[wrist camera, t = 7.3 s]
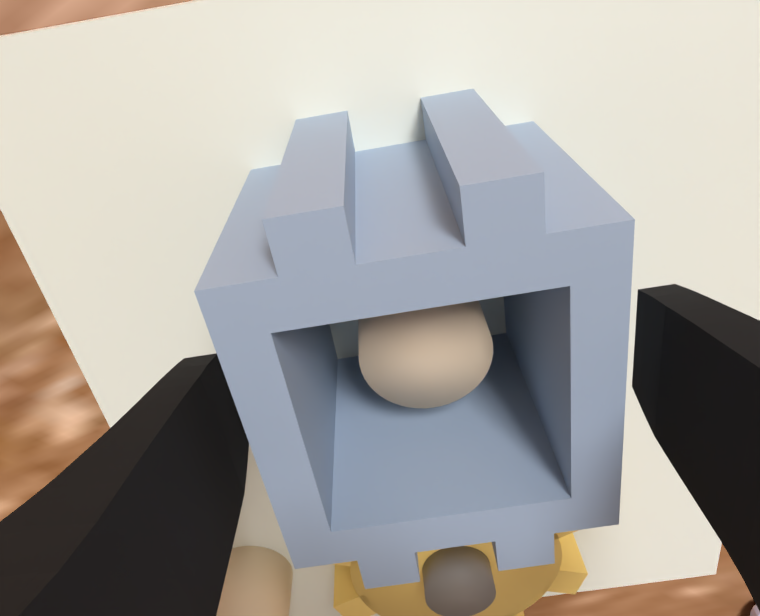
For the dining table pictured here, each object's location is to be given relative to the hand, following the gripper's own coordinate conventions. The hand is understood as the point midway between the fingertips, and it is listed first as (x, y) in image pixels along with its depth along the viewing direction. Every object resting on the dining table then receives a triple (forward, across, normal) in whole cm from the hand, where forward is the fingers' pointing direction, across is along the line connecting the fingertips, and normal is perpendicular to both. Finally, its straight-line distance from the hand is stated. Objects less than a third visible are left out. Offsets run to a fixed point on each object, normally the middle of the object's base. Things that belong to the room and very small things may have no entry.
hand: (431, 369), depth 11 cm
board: (+4, 0, +3) cm, 5 cm away
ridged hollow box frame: (+3, 0, 0) cm, 3 cm away
